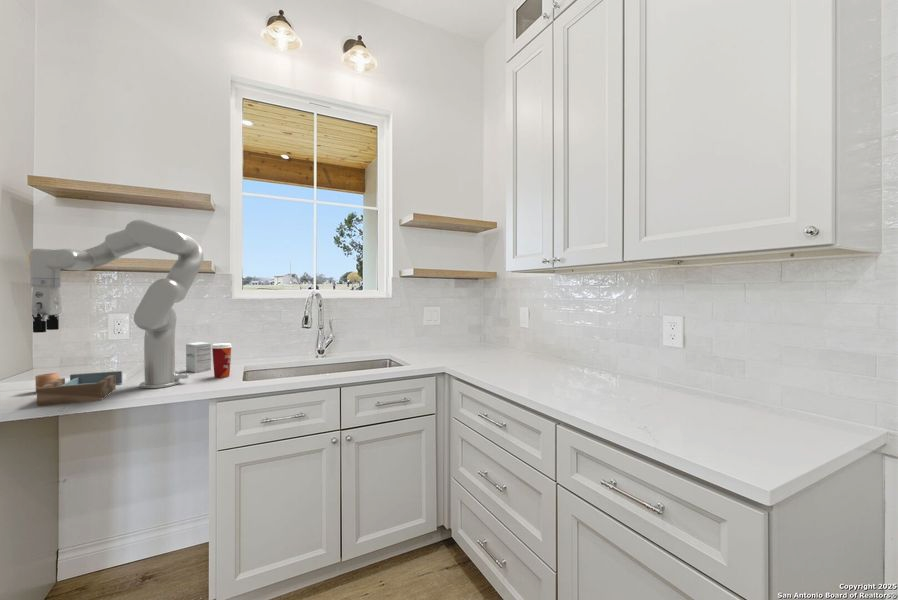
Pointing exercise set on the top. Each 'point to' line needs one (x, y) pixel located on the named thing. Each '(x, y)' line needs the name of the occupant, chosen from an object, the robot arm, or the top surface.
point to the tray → (92, 378)
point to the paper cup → (221, 359)
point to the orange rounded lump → (45, 379)
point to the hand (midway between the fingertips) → (46, 330)
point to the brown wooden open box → (74, 392)
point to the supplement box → (198, 357)
